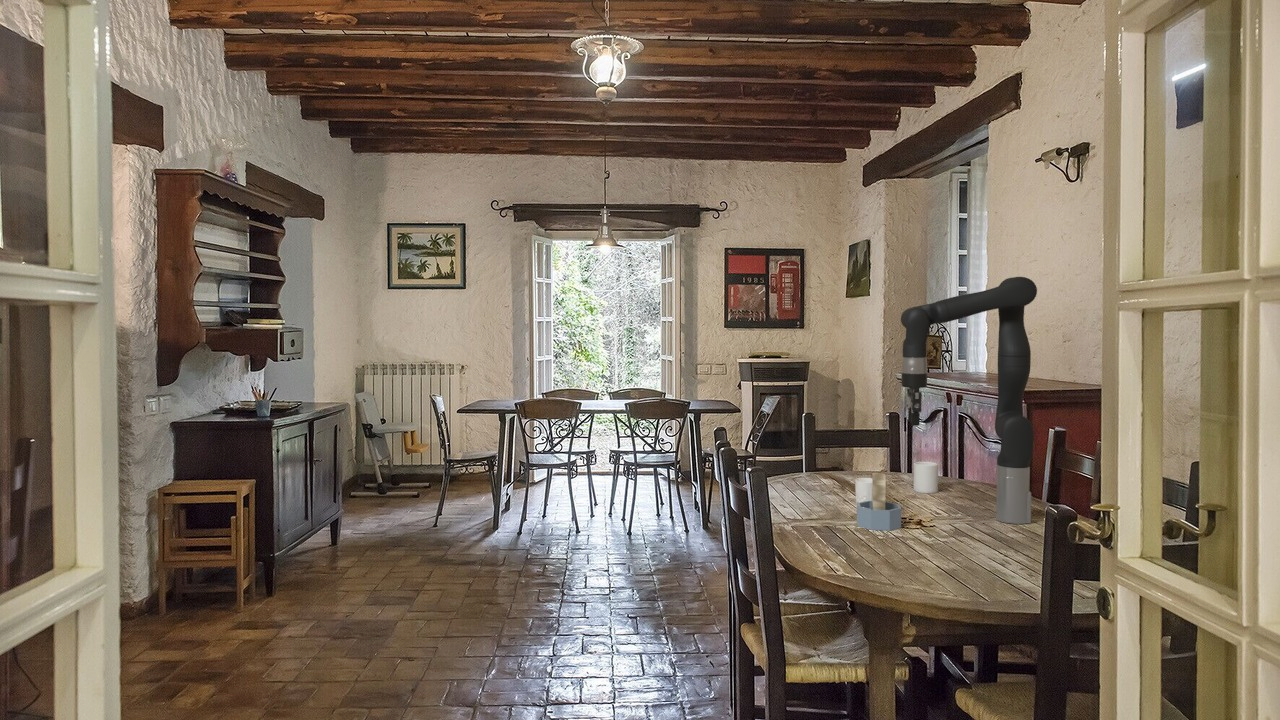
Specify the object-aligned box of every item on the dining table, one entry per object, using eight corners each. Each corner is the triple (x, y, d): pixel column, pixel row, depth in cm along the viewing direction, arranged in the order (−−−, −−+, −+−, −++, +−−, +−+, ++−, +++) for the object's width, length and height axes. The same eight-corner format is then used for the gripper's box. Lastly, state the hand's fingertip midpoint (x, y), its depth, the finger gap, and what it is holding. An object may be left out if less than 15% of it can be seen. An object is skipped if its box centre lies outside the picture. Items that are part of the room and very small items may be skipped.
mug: (912, 486, 298) (912, 459, 298) (935, 487, 296) (936, 460, 295) (914, 493, 287) (914, 465, 286) (938, 494, 284) (939, 466, 284)
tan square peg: (883, 521, 244) (884, 473, 243) (885, 524, 241) (885, 475, 240) (872, 521, 245) (872, 473, 244) (873, 524, 241) (873, 475, 241)
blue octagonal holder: (897, 520, 248) (898, 501, 247) (902, 531, 235) (902, 511, 235) (855, 519, 250) (856, 500, 250) (858, 529, 238) (858, 509, 238)
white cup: (852, 511, 260) (852, 481, 260) (857, 506, 267) (857, 477, 267) (876, 514, 257) (877, 483, 256) (881, 509, 264) (882, 479, 263)
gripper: (930, 373, 239) (929, 427, 240) (923, 370, 253) (923, 421, 254) (904, 373, 241) (903, 426, 242) (899, 370, 255) (898, 420, 256)
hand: (913, 423), depth 248 cm, fingers open, 8 cm apart
